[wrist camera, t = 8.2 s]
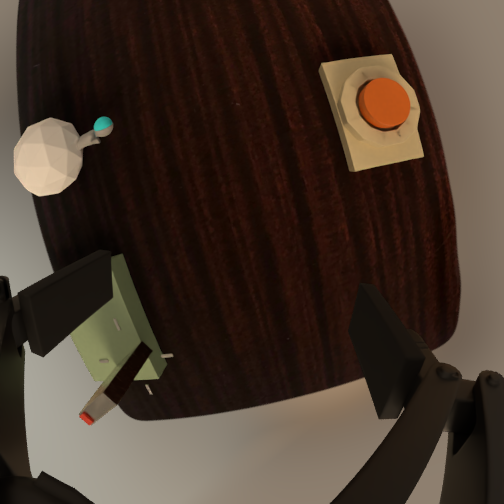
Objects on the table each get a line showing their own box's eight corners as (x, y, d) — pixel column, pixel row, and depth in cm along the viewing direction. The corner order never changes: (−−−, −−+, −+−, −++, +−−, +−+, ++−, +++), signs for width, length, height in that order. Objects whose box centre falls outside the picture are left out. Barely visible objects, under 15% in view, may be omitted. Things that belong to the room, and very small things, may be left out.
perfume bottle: (16, 132, 24) (99, 74, 23) (52, 182, 30) (133, 135, 30) (-13, 167, 19) (79, 95, 18) (33, 224, 25) (125, 170, 24)
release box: (414, 157, 25) (433, 156, 21) (349, 171, 26) (360, 171, 22) (384, 61, 23) (398, 47, 19) (318, 70, 24) (323, 56, 20)
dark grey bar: (142, 340, 29) (101, 394, 20) (153, 350, 30) (115, 407, 21) (115, 365, 31) (77, 416, 22) (125, 375, 31) (89, 427, 22)
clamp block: (196, 375, 33) (190, 392, 30) (111, 381, 35) (101, 394, 32) (146, 246, 30) (133, 254, 27) (61, 272, 32) (45, 280, 29)
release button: (408, 124, 21) (416, 122, 19) (366, 132, 22) (372, 129, 20) (394, 80, 20) (401, 75, 19) (351, 86, 21) (357, 80, 19)
